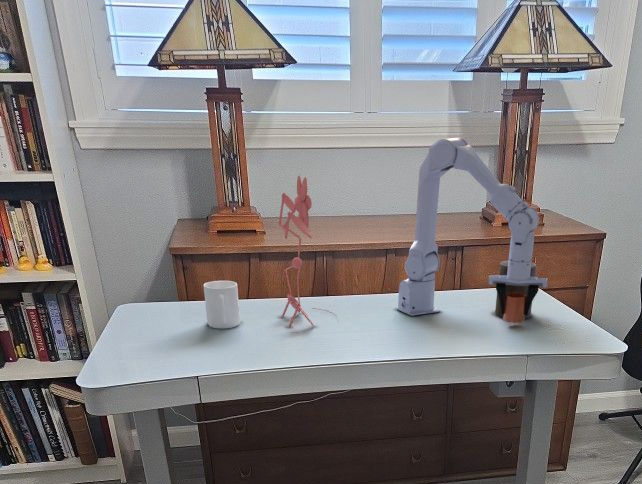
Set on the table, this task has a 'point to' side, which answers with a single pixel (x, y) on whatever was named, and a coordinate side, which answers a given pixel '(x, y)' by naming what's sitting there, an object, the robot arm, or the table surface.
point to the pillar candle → (513, 287)
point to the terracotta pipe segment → (514, 307)
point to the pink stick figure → (302, 223)
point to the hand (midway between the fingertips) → (514, 313)
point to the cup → (222, 304)
